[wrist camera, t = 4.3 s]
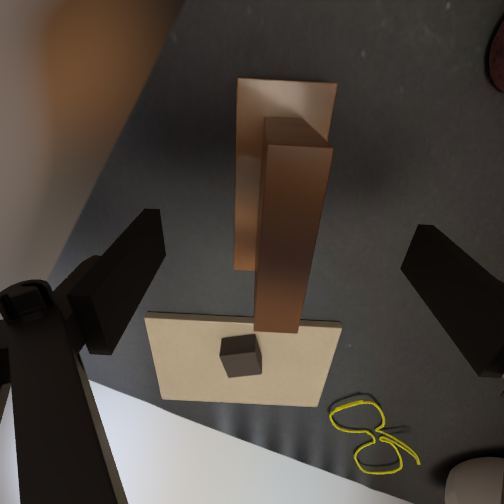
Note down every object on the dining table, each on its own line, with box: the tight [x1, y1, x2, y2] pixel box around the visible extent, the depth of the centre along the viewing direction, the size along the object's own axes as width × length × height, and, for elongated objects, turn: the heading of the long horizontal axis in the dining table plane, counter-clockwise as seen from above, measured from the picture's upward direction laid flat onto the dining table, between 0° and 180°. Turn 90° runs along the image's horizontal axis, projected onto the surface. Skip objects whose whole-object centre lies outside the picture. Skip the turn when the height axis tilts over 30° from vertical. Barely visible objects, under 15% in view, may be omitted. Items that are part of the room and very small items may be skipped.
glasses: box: [329, 400, 420, 474], centre depth 43 cm, size 25×10×5 cm, turn 25°
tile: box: [144, 312, 342, 407], centre depth 35 cm, size 22×16×1 cm
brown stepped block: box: [234, 77, 338, 334], centre depth 18 cm, size 14×6×12 cm, turn 177°
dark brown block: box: [219, 334, 262, 378], centre depth 32 cm, size 4×4×2 cm
